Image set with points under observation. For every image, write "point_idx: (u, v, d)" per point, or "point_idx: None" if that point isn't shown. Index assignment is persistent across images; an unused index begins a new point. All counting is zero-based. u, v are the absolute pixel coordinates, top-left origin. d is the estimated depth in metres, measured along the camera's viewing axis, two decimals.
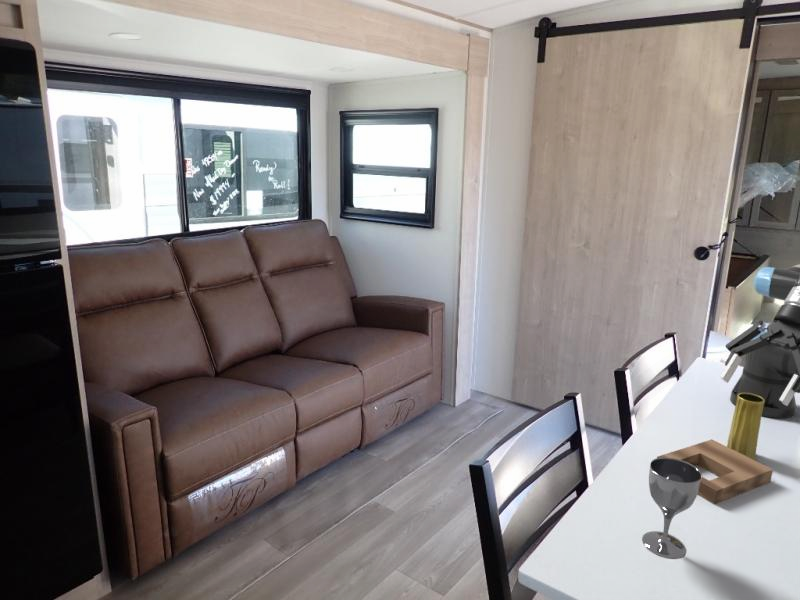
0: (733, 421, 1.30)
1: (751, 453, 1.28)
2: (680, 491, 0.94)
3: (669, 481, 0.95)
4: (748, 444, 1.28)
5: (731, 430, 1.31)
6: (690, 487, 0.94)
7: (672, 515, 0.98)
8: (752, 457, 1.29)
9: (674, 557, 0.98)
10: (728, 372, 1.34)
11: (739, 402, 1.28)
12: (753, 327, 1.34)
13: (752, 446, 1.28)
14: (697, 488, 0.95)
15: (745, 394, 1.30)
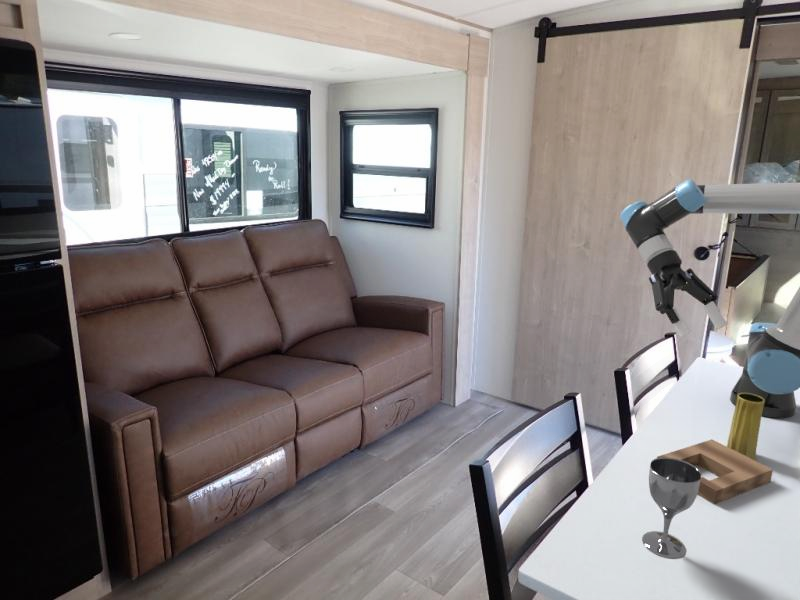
0: (733, 421, 1.30)
1: (751, 453, 1.28)
2: (680, 491, 0.94)
3: (669, 481, 0.95)
4: (748, 444, 1.28)
5: (731, 430, 1.31)
6: (690, 487, 0.94)
7: (672, 515, 0.98)
8: (752, 457, 1.29)
9: (674, 557, 0.98)
10: (714, 321, 1.41)
11: (739, 402, 1.28)
12: None
13: (752, 446, 1.28)
14: (697, 488, 0.95)
15: (745, 394, 1.30)
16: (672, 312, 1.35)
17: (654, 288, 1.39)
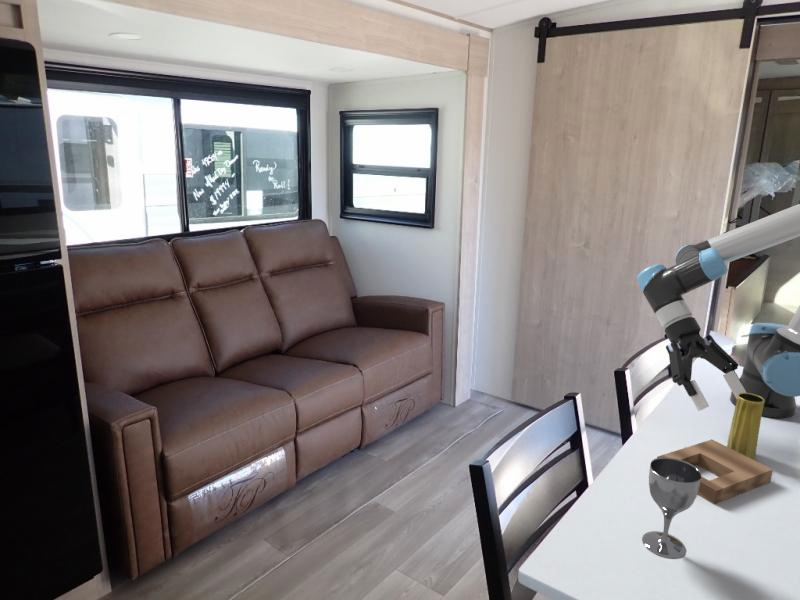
0: (733, 421, 1.30)
1: (751, 453, 1.28)
2: (680, 491, 0.94)
3: (669, 481, 0.95)
4: (748, 444, 1.28)
5: (731, 430, 1.31)
6: (690, 487, 0.94)
7: (672, 515, 0.98)
8: (752, 457, 1.29)
9: (674, 557, 0.98)
10: (735, 391, 1.37)
11: (739, 402, 1.28)
12: None
13: (752, 446, 1.28)
14: (697, 488, 0.95)
15: (745, 394, 1.30)
16: (690, 385, 1.31)
17: (671, 358, 1.35)
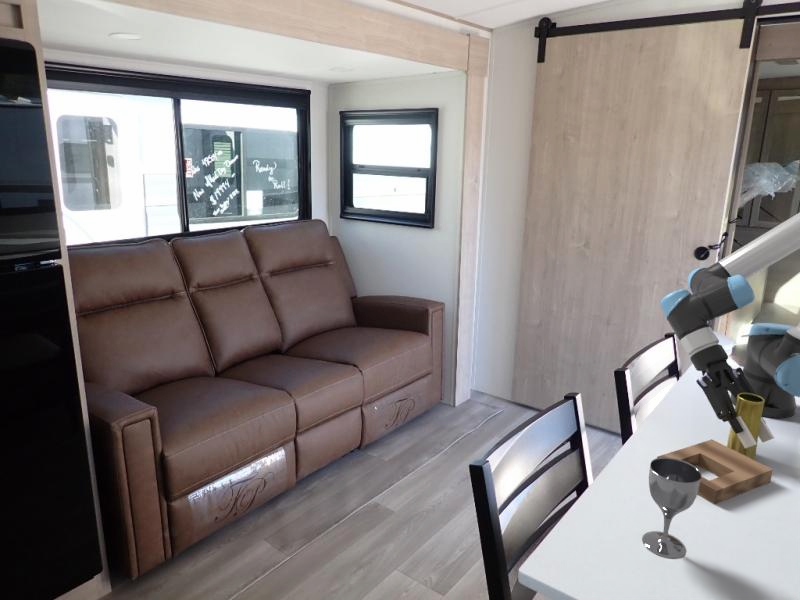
0: None
1: (751, 453, 1.28)
2: (680, 491, 0.94)
3: (669, 481, 0.95)
4: None
5: (731, 430, 1.31)
6: (690, 487, 0.94)
7: (672, 515, 0.98)
8: (752, 457, 1.29)
9: (674, 557, 0.98)
10: (760, 433, 1.30)
11: (739, 402, 1.28)
12: None
13: (752, 446, 1.28)
14: (697, 488, 0.95)
15: (745, 394, 1.30)
16: (736, 422, 1.27)
17: (708, 394, 1.30)
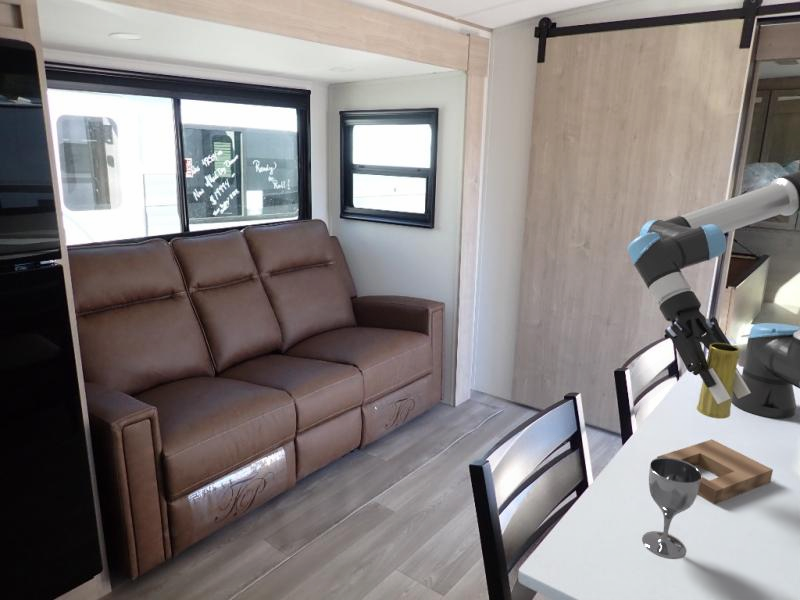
0: None
1: (724, 410, 1.15)
2: (680, 491, 0.94)
3: (669, 481, 0.95)
4: None
5: (703, 385, 1.17)
6: (690, 487, 0.94)
7: (672, 515, 0.98)
8: (726, 414, 1.15)
9: (674, 557, 0.98)
10: (735, 388, 1.16)
11: (711, 352, 1.14)
12: None
13: (726, 402, 1.14)
14: (697, 488, 0.95)
15: (718, 344, 1.16)
16: (707, 374, 1.13)
17: (677, 344, 1.16)
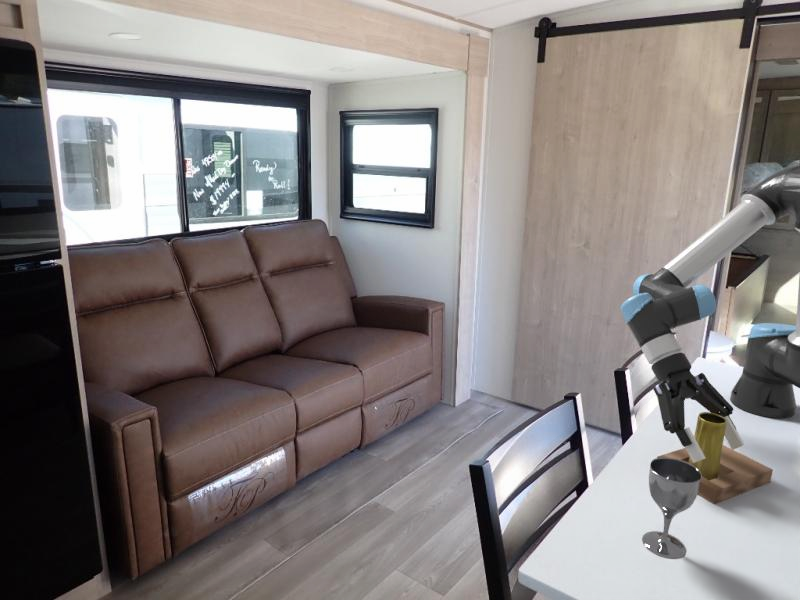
0: None
1: (712, 478, 1.19)
2: (680, 491, 0.94)
3: (669, 481, 0.95)
4: (709, 468, 1.18)
5: None
6: (690, 487, 0.94)
7: (672, 515, 0.98)
8: None
9: (674, 557, 0.98)
10: (730, 440, 1.21)
11: (700, 423, 1.18)
12: None
13: (713, 470, 1.18)
14: (697, 488, 0.95)
15: (707, 414, 1.20)
16: (683, 433, 1.16)
17: (661, 402, 1.20)
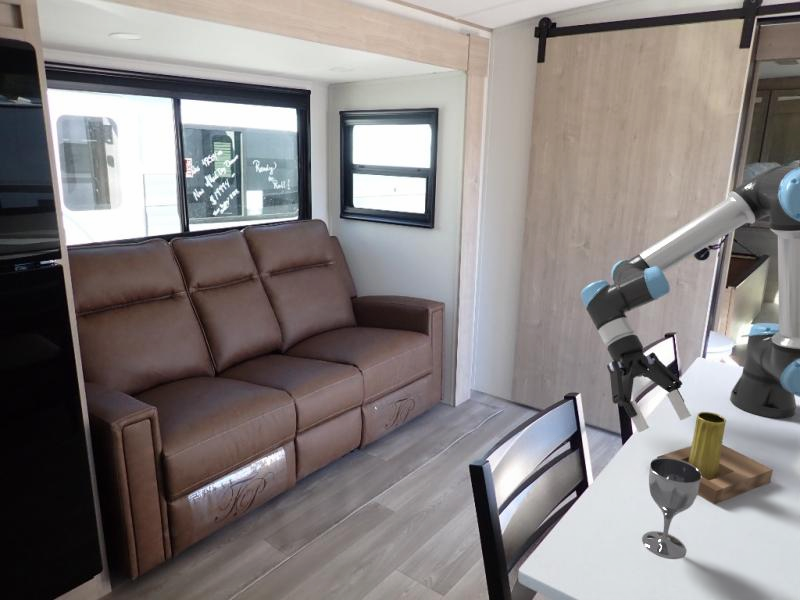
0: (693, 443, 1.20)
1: (712, 478, 1.19)
2: (680, 491, 0.94)
3: (669, 481, 0.95)
4: (709, 468, 1.18)
5: (691, 452, 1.21)
6: (690, 487, 0.94)
7: (672, 515, 0.98)
8: None
9: (674, 557, 0.98)
10: (678, 411, 1.33)
11: (699, 422, 1.18)
12: None
13: (713, 470, 1.18)
14: (697, 488, 0.95)
15: (706, 413, 1.20)
16: (629, 406, 1.27)
17: (612, 378, 1.31)
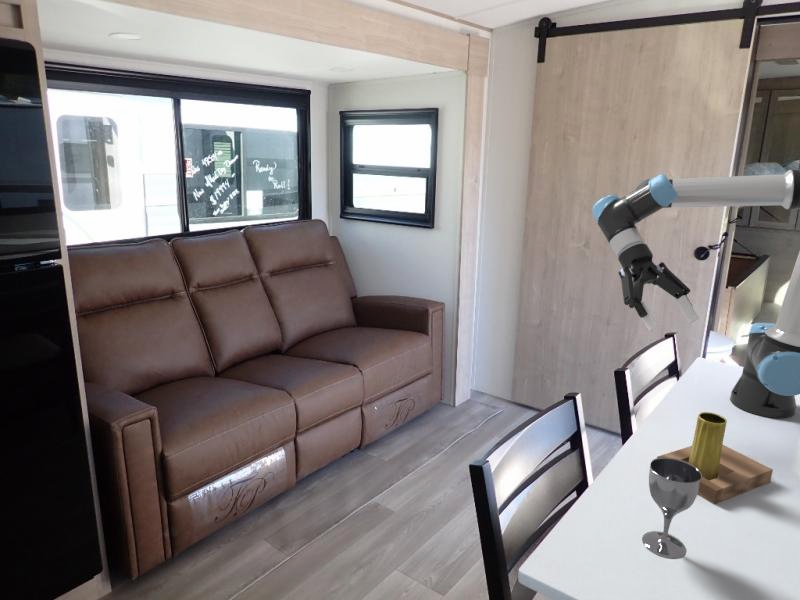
0: (693, 443, 1.20)
1: (712, 478, 1.19)
2: (680, 491, 0.94)
3: (669, 481, 0.95)
4: (709, 468, 1.18)
5: (691, 452, 1.21)
6: (690, 487, 0.94)
7: (672, 515, 0.98)
8: None
9: (674, 557, 0.98)
10: (686, 315, 1.38)
11: (699, 423, 1.18)
12: None
13: (713, 470, 1.18)
14: (697, 488, 0.95)
15: (707, 414, 1.20)
16: (640, 306, 1.33)
17: (623, 282, 1.37)
